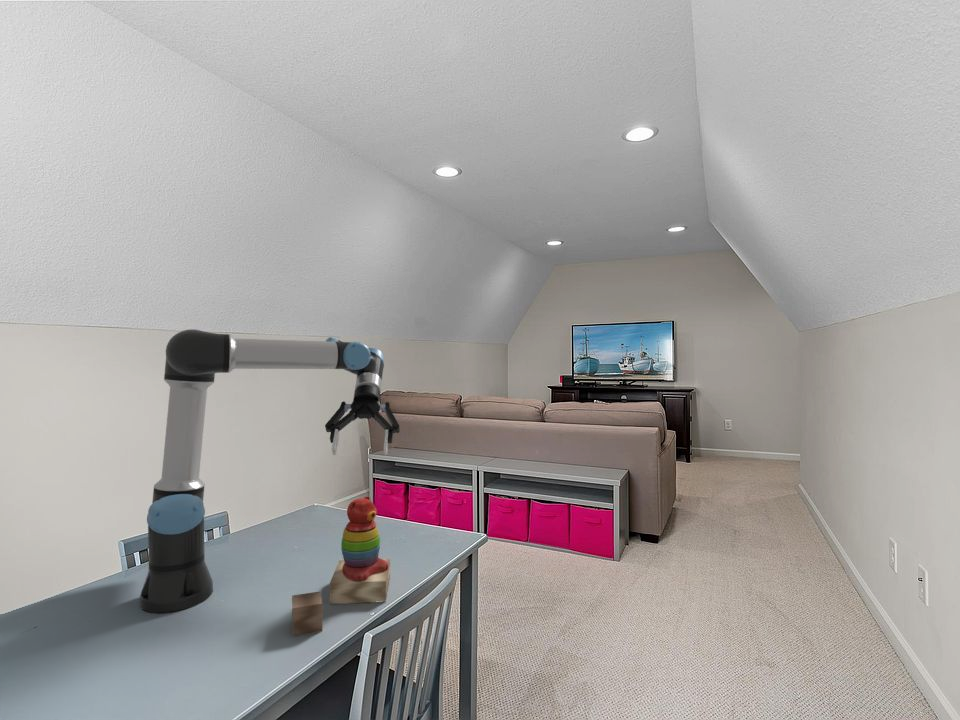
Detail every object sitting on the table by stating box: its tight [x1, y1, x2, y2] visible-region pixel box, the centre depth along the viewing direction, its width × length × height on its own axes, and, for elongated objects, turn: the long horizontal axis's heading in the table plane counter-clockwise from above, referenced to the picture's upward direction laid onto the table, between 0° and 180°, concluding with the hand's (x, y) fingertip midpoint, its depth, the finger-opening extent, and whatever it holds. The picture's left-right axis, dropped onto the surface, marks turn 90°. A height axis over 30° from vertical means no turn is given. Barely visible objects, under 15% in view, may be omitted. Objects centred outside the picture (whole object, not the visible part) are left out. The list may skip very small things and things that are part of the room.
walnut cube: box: [291, 591, 323, 637], centre depth 113 cm, size 6×6×6 cm
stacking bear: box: [340, 495, 388, 581], centre depth 130 cm, size 11×10×18 cm
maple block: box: [329, 558, 391, 605], centre depth 130 cm, size 13×13×5 cm
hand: (359, 452), depth 141 cm, fingers open, 13 cm apart
